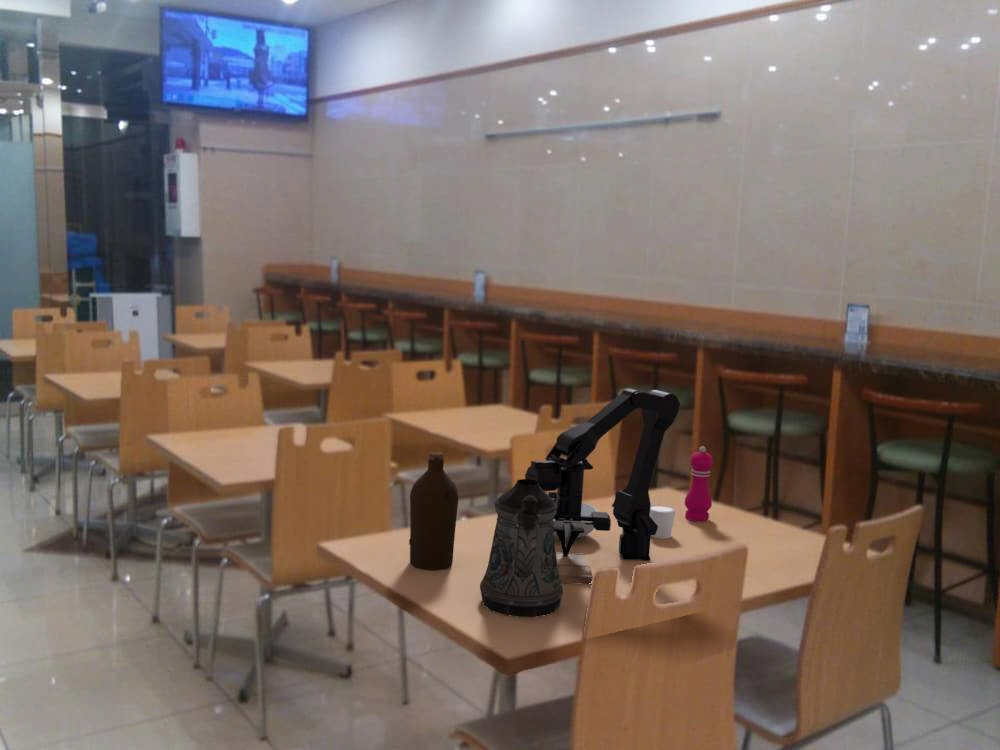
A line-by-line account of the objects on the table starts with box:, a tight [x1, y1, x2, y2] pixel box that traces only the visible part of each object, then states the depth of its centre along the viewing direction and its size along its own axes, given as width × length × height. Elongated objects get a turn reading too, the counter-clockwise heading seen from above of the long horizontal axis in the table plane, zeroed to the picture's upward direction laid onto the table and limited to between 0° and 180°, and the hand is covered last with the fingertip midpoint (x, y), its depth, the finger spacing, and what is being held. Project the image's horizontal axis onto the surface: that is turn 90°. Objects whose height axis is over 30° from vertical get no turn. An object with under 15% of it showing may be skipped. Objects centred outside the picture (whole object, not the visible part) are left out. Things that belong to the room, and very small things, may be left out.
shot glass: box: [649, 504, 676, 540], centre depth 254 cm, size 7×7×7 cm
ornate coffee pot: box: [479, 478, 564, 618], centre depth 198 cm, size 16×19×25 cm
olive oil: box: [408, 450, 460, 571], centre depth 221 cm, size 11×11×25 cm
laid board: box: [557, 565, 594, 585], centre depth 218 cm, size 18×7×2 cm, turn 90°
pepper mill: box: [684, 445, 714, 522], centre depth 271 cm, size 7×7×20 cm
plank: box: [556, 551, 588, 566], centre depth 225 cm, size 17×7×2 cm, turn 90°
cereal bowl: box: [554, 502, 599, 541], centre depth 249 cm, size 17×17×7 cm
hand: (565, 556), depth 227 cm, fingers closed, pressing on plank
